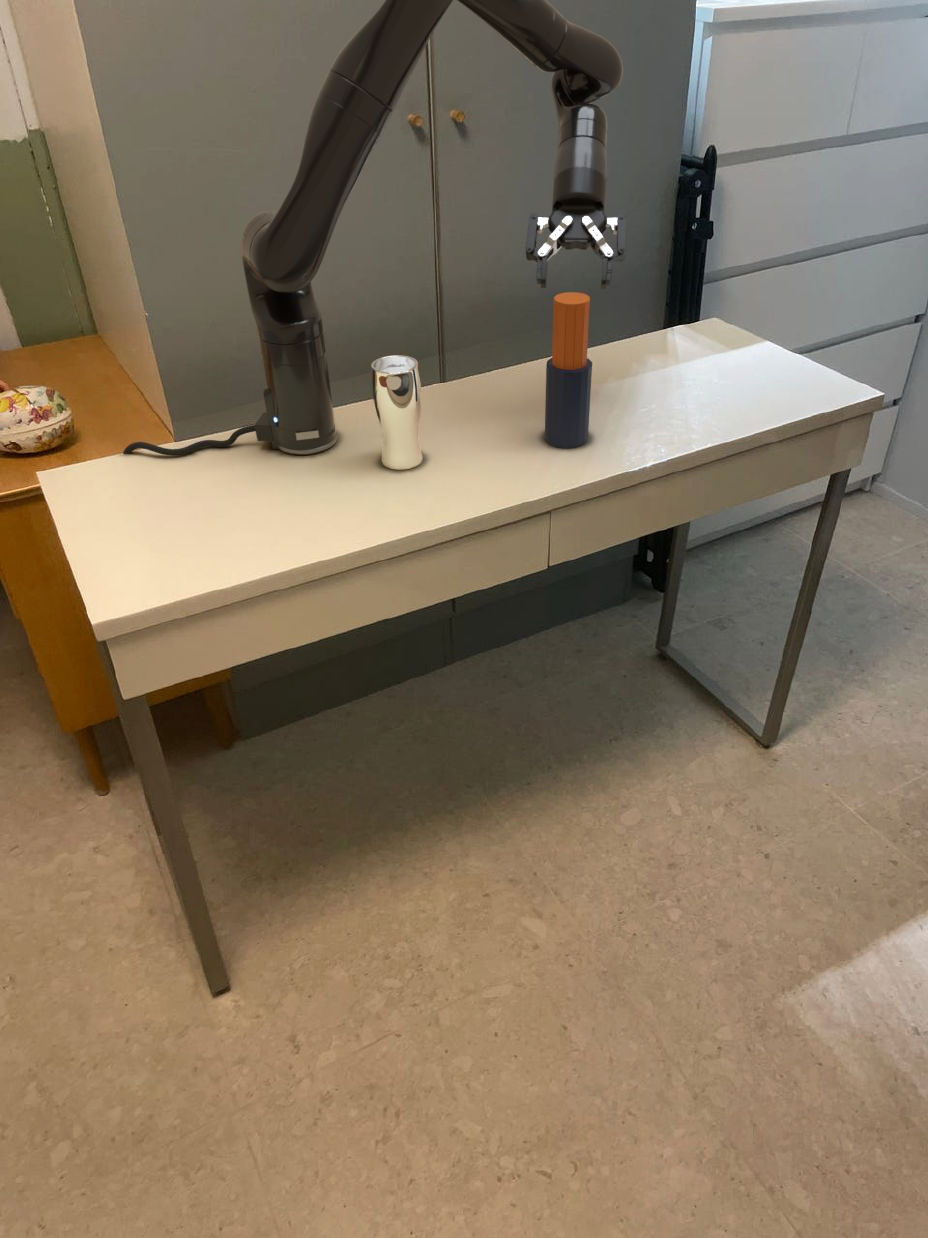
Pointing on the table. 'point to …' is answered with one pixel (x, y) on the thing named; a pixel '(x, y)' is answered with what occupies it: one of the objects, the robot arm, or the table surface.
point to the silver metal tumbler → (398, 409)
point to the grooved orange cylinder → (570, 330)
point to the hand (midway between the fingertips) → (573, 285)
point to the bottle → (567, 405)
